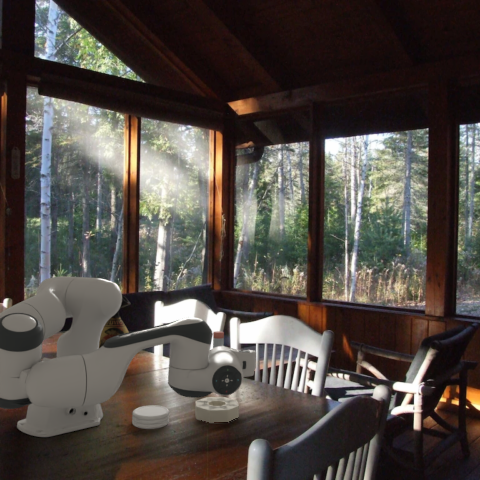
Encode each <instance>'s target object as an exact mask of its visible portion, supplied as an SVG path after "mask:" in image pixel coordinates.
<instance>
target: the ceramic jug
mask: <svg viewBox="0 0 480 480" xmlns="http://www.w3.org/2000/svg"><path fill="white" fill-rule="evenodd" d="M127 306H131V302H130V301H129V300H128V298H127V297H126V296H125V295H122V303H121V306H120V308H119V310H118V312H117V313H116V314H115V315H114V316H112V317H111V318H110V319H109V320H108V321H107V323H106V324H105V326H104V328H103V330H102V333H101V336H100V341H99V348H101V347H102V346H103V345H104V343H105V342H106V340H107V339H109V338H112V337H114V336H117V335H121V334H124V333H128V332H130V331H129V330H128V328H127V326H126V325H125V323H124V321H123V320H122V318H121V316H120V310H121V309H122V308H125V307H127Z"/></svg>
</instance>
